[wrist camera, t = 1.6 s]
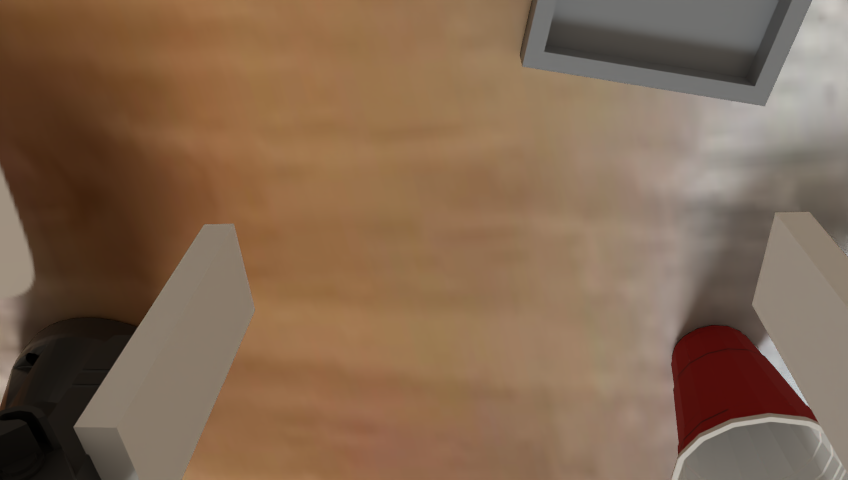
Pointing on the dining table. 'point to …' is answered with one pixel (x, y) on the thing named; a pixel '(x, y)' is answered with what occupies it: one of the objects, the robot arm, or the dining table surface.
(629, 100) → the dining table surface
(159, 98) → the dining table surface
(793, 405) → the plastic cup
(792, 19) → the tray
